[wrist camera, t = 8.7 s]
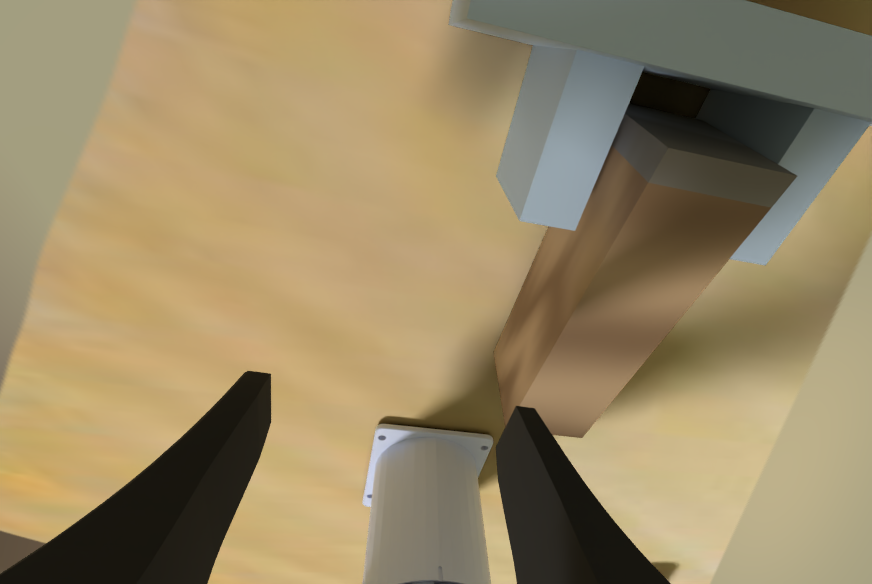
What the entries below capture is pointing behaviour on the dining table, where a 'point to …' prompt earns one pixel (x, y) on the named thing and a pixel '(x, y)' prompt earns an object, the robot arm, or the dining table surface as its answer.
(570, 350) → the brown wooden block
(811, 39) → the pale blue bench
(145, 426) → the dining table surface
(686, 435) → the dining table surface
